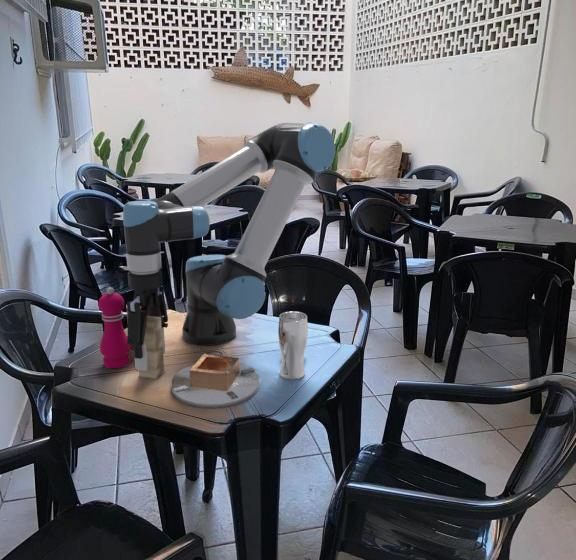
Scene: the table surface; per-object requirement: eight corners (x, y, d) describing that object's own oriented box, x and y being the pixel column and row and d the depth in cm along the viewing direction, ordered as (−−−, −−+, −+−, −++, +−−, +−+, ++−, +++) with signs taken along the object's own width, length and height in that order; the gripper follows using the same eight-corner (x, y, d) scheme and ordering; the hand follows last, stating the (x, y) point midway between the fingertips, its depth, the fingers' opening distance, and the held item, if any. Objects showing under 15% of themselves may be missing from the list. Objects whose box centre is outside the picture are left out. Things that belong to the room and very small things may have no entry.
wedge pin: (147, 368, 130) (143, 315, 126) (164, 370, 129) (160, 317, 125) (139, 376, 126) (134, 321, 122) (156, 378, 125) (152, 323, 121)
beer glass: (290, 365, 133) (291, 309, 128) (312, 373, 129) (314, 315, 124) (272, 374, 128) (272, 316, 123) (294, 383, 123) (295, 323, 119)
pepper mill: (95, 366, 131) (87, 289, 125) (116, 355, 137) (109, 281, 131) (117, 372, 128) (110, 294, 122) (137, 360, 134) (132, 285, 128)
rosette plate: (191, 362, 133) (190, 342, 132) (268, 371, 129) (268, 350, 128) (156, 401, 115) (154, 379, 113) (244, 413, 111) (244, 389, 109)
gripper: (151, 257, 131) (156, 341, 137) (104, 282, 110) (113, 379, 117) (179, 259, 129) (183, 344, 136) (137, 285, 109) (144, 383, 116)
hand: (150, 360), depth 126 cm, fingers open, 9 cm apart
